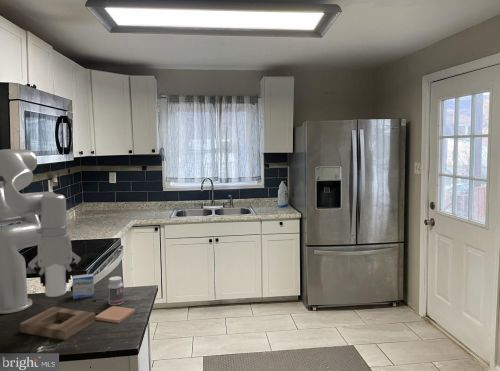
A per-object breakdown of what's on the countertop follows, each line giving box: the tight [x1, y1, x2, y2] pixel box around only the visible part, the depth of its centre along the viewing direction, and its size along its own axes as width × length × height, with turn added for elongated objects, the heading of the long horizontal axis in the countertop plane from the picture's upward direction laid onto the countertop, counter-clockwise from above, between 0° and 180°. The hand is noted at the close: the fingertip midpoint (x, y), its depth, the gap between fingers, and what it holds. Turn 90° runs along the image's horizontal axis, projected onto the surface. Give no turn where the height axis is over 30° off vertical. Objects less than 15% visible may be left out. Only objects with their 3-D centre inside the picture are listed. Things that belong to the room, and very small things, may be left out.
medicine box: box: [72, 273, 95, 300], centre depth 156 cm, size 8×4×9 cm, turn 114°
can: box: [44, 264, 68, 298], centre depth 128 cm, size 6×6×12 cm
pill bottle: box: [107, 276, 125, 306], centre depth 149 cm, size 6×6×10 cm
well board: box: [19, 306, 96, 341], centre depth 130 cm, size 18×14×3 cm
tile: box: [95, 305, 136, 324], centre depth 138 cm, size 10×10×1 cm
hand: (55, 283), depth 129 cm, fingers closed on can, 6 cm apart
